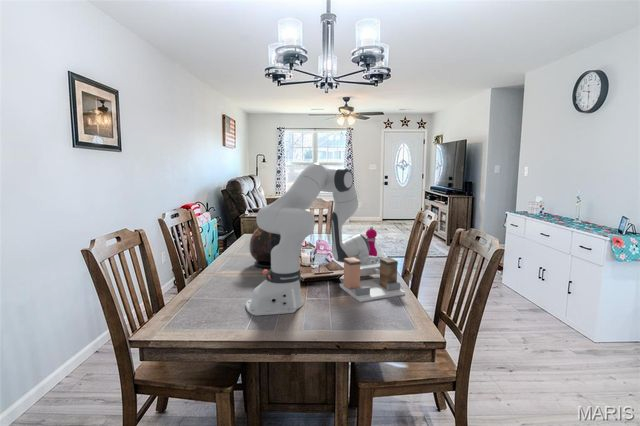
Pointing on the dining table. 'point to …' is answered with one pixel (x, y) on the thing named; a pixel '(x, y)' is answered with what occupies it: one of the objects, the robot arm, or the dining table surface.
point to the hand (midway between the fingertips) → (384, 273)
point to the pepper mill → (371, 241)
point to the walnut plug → (388, 271)
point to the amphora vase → (263, 247)
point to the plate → (373, 290)
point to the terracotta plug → (352, 272)
